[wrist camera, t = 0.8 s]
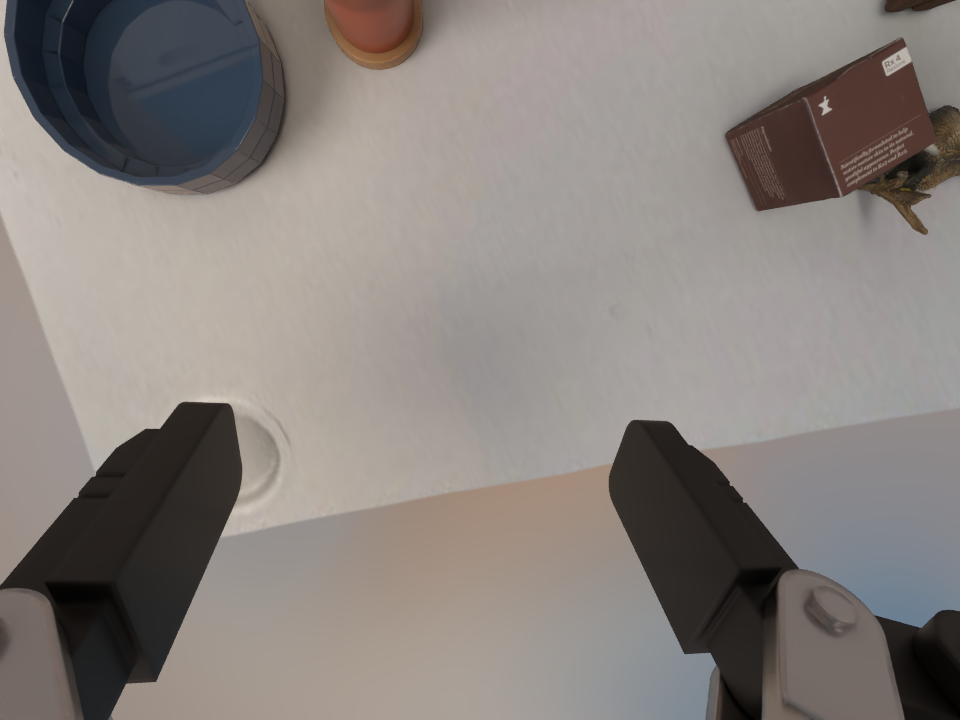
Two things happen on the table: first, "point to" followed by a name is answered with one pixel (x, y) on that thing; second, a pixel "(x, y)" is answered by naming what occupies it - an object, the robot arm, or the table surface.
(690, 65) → the table surface
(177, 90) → the bowl
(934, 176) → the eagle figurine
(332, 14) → the spool
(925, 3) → the bear figurine
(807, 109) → the box
